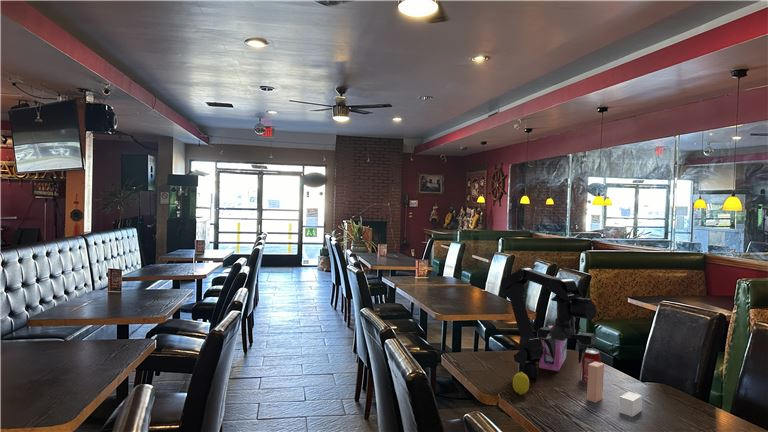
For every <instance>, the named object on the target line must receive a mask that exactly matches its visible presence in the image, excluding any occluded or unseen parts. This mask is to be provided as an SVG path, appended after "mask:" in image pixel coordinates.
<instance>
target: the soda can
mask: <svg viewBox="0 0 768 432" xmlns="http://www.w3.org/2000/svg"><path fill="white" fill-rule="evenodd" d="M601 356H602V355H600V351H599V350H597V349H594V348H587V350H586V352H585V354H584V357H583V359H582V362H581V363H580V369H579V370H580V372H579V375H580V376H579V380H580V382H582V383H583V384H586V385H588V364H591V363H593V362H599V363H602V362H601V361H602V359H601V358H602V357H601Z"/></svg>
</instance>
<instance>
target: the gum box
mask: <svg viewBox="0 0 768 432" xmlns="http://www.w3.org/2000/svg"><path fill="white" fill-rule="evenodd" d="M553 325H555V323H549V324H548V325H547V326H546V327H547V328H552V326H553ZM541 341H542V345H543V347H544V349H543V351H544V354H543V356H542V357H541V359H540V362H538V363H539V364H538V369H539V368H540V369H543V370H547V371H554V372H560V369H561V368H562V366H563V365H564V362H565V361H566V358H567V347H568V346H567V345H568V338H566V340H564V341H560V340H556V339H555V358H554V359H553V358H552V356H551V353H550V351H549V348H548V346H547V344H546V342H545V341H544V340H541Z"/></svg>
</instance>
